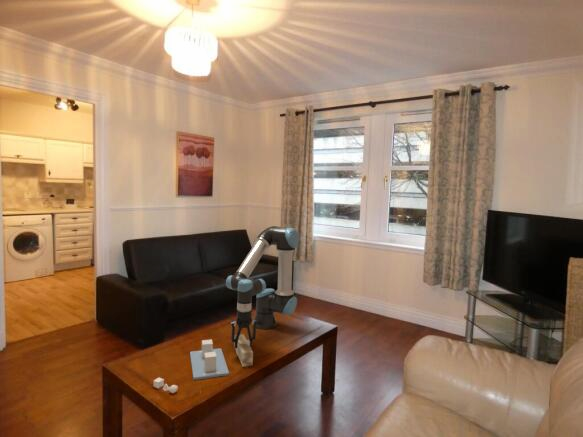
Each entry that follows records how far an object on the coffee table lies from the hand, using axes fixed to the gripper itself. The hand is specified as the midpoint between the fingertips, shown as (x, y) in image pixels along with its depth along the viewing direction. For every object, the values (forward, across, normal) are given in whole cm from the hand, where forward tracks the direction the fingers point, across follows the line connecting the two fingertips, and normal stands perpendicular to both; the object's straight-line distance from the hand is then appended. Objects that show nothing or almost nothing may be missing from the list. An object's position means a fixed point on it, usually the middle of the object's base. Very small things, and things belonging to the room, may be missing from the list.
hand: (242, 353), depth 181 cm
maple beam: (+1, 0, 0) cm, 1 cm away
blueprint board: (+1, -18, -4) cm, 19 cm away
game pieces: (+2, -38, -21) cm, 43 cm away
